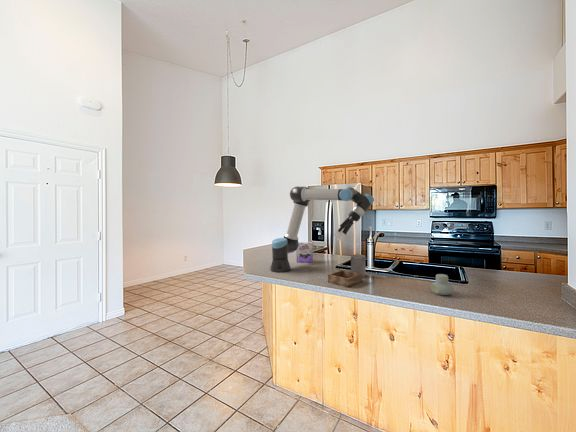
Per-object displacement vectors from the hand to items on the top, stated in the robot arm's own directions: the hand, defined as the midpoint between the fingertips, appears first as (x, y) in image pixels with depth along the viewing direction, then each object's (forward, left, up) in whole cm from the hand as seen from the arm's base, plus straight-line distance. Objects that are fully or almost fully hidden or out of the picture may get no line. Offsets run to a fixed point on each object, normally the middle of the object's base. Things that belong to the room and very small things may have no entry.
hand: (336, 238), depth 182 cm
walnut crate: (+11, -6, -26) cm, 29 cm away
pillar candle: (+9, +12, -27) cm, 30 cm away
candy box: (-48, +19, -27) cm, 58 cm away
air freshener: (+61, +12, -27) cm, 67 cm away
